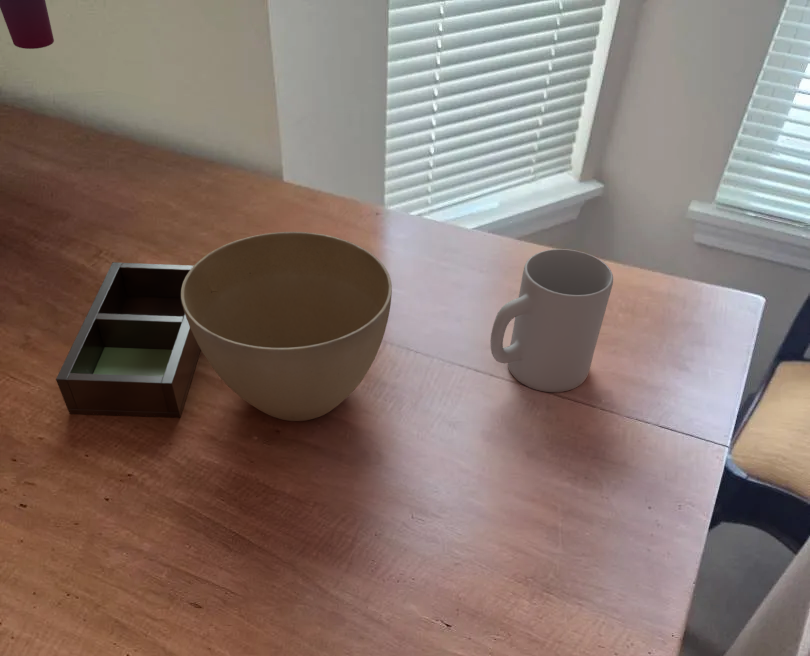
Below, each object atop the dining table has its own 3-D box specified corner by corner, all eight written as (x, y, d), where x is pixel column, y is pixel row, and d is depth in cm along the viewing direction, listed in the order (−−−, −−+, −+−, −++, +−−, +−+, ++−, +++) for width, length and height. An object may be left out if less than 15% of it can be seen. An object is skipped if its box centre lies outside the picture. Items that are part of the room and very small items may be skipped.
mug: (555, 334, 82) (577, 240, 74) (605, 378, 78) (633, 283, 69) (463, 365, 78) (474, 268, 70) (509, 413, 74) (527, 316, 65)
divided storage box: (69, 413, 71) (55, 379, 68) (122, 295, 84) (112, 262, 81) (180, 417, 71) (171, 383, 68) (216, 299, 84) (210, 265, 81)
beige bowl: (219, 337, 80) (199, 228, 70) (389, 342, 80) (392, 234, 71) (190, 456, 68) (161, 344, 59) (388, 460, 69) (391, 350, 59)
